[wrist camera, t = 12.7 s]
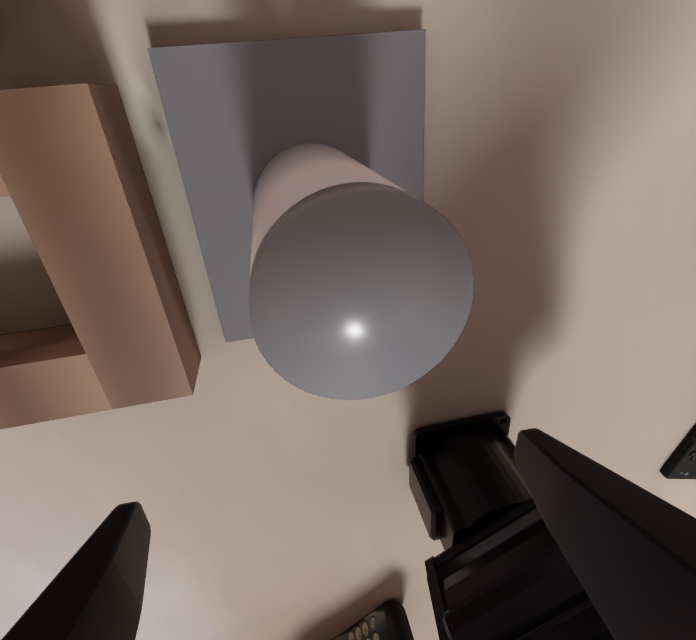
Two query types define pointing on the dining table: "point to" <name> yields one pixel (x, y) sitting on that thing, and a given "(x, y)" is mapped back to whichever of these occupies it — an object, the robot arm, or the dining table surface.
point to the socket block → (89, 261)
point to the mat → (283, 129)
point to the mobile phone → (381, 625)
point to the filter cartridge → (351, 277)
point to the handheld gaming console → (682, 459)
